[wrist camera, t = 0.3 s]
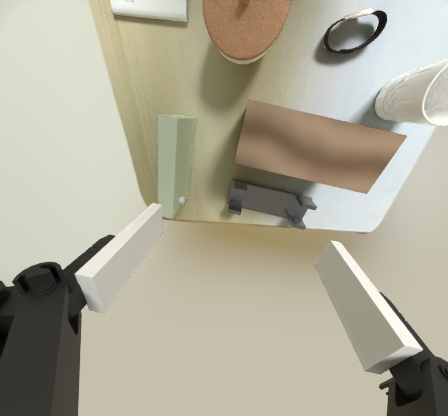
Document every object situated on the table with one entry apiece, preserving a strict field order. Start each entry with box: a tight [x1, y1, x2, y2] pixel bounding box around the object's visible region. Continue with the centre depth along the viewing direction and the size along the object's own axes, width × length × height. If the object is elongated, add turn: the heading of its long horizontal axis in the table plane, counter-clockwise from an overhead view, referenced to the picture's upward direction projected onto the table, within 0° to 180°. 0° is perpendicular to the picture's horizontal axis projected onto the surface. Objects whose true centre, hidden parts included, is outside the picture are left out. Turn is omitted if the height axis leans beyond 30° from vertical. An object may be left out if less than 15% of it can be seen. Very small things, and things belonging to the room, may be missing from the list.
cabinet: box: [234, 99, 407, 194], centre depth 28 cm, size 8×20×13 cm, turn 79°
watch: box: [324, 8, 387, 53], centre depth 24 cm, size 8×5×4 cm, turn 98°
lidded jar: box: [202, 0, 291, 64], centre depth 23 cm, size 11×11×9 cm
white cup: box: [375, 58, 448, 126], centre depth 24 cm, size 8×8×10 cm
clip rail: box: [227, 180, 317, 230], centre depth 38 cm, size 6×19×5 cm, turn 79°
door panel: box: [158, 114, 197, 219], centre depth 33 cm, size 18×4×11 cm, turn 169°
